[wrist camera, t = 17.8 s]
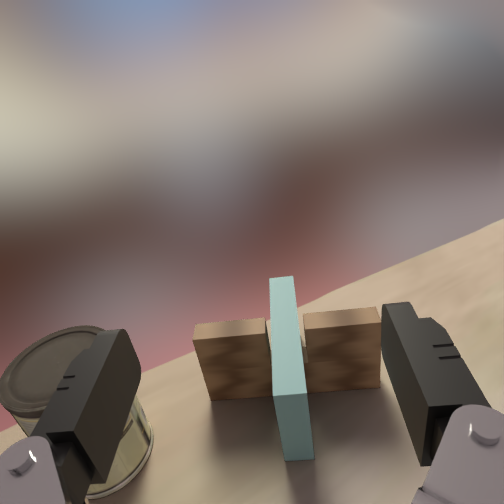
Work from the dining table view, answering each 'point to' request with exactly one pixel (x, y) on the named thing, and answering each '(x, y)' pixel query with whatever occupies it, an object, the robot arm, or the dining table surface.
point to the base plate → (314, 354)
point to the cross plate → (289, 373)
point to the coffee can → (45, 384)
